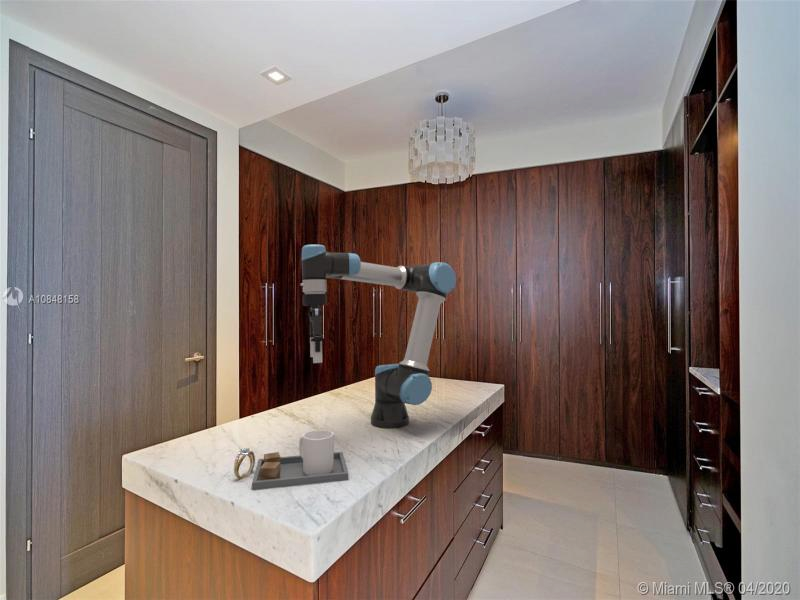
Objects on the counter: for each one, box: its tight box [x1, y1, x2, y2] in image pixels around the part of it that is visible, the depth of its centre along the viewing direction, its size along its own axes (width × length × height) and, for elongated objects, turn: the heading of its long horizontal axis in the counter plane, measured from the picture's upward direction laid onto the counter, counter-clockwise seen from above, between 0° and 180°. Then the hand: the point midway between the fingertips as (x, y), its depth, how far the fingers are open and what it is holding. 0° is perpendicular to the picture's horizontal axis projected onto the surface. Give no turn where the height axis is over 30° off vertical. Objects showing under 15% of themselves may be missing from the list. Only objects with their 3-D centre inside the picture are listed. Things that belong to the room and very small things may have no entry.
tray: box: [251, 451, 349, 491], centre depth 111 cm, size 24×16×2 cm, turn 104°
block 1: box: [263, 451, 281, 463], centre depth 112 cm, size 4×4×4 cm
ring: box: [233, 447, 256, 480], centre depth 108 cm, size 7×3×8 cm, turn 156°
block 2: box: [260, 462, 280, 480], centre depth 106 cm, size 4×4×4 cm
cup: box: [298, 429, 335, 476], centre depth 112 cm, size 8×12×10 cm
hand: (316, 359), depth 129 cm, fingers open, 13 cm apart
